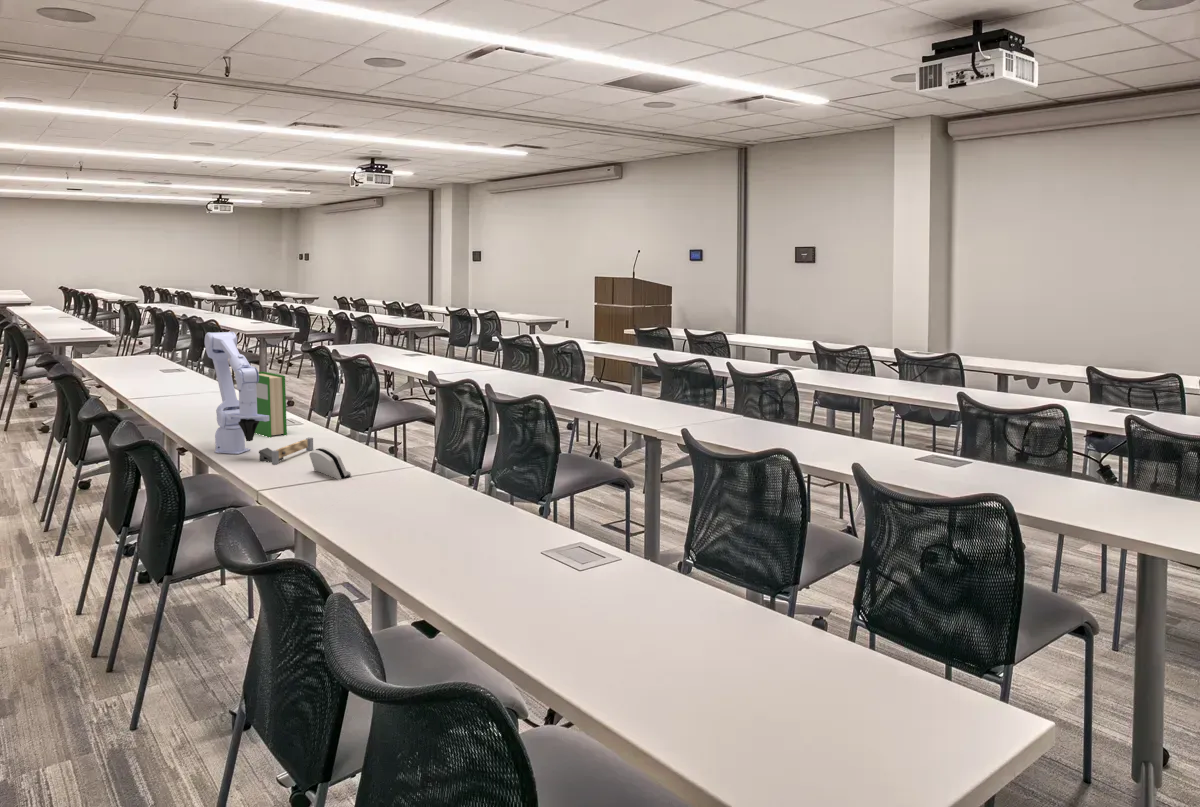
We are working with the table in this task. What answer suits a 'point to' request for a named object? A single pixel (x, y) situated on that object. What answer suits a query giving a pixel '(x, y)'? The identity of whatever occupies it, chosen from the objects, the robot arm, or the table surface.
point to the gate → (292, 448)
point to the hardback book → (271, 404)
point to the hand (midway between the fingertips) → (249, 440)
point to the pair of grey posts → (276, 454)
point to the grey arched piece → (328, 463)
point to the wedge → (266, 455)
